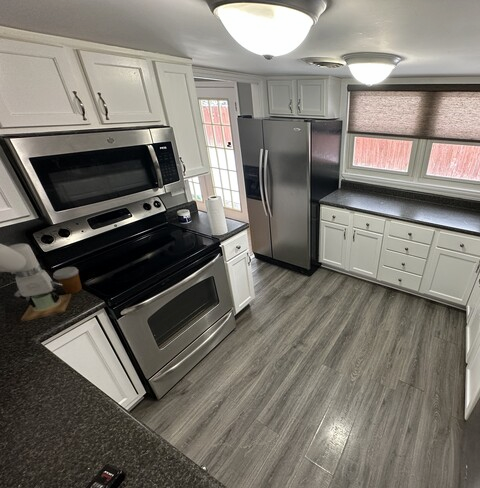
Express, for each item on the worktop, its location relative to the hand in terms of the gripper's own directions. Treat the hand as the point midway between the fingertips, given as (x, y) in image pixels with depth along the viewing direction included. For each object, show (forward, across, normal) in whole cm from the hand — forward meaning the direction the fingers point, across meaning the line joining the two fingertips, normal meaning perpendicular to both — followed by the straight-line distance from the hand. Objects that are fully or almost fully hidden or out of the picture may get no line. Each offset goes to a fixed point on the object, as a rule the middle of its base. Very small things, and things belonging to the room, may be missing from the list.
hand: (46, 303), depth 124 cm
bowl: (+1, 0, 0) cm, 1 cm away
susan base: (+3, 0, 0) cm, 3 cm away
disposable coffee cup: (+3, +7, +12) cm, 14 cm away
